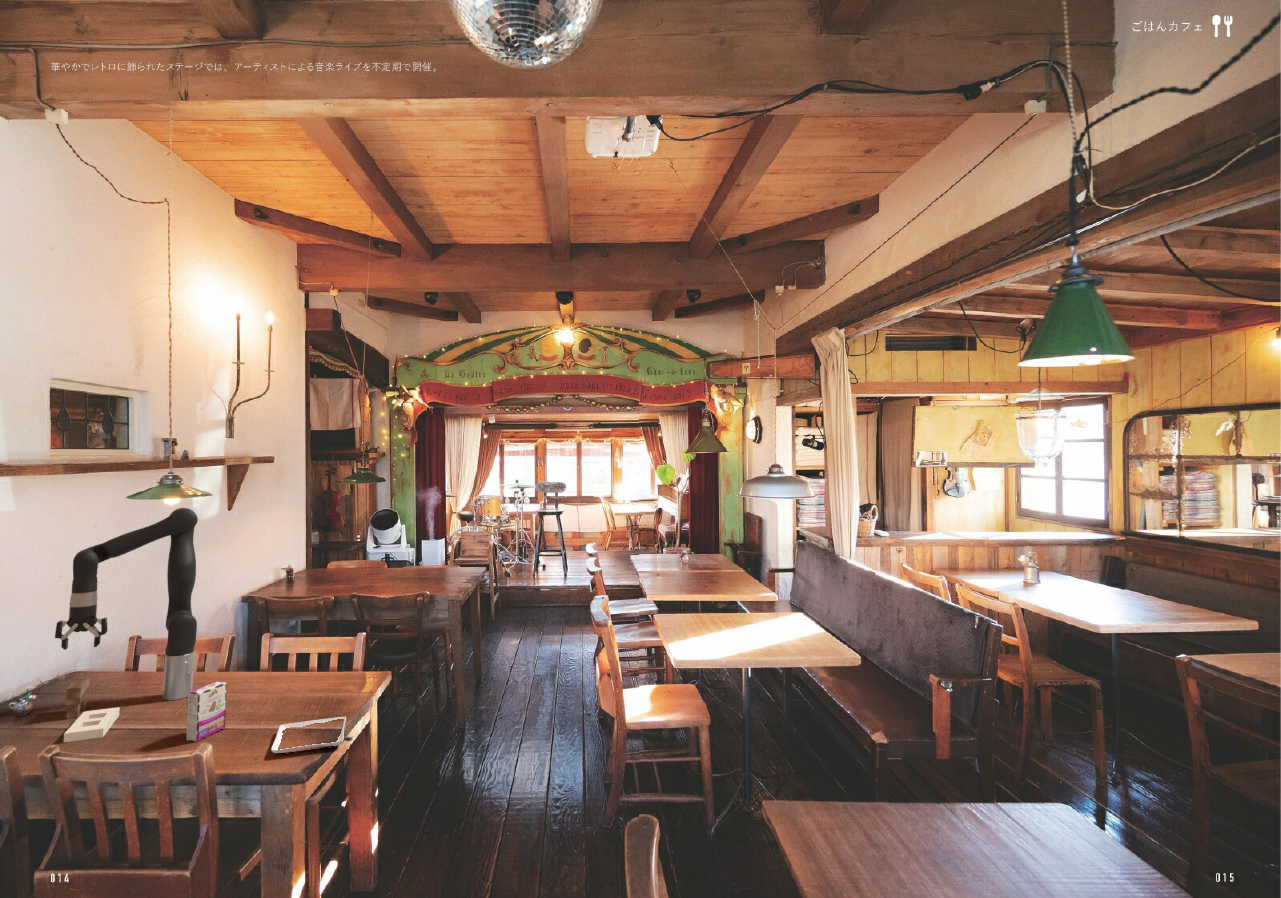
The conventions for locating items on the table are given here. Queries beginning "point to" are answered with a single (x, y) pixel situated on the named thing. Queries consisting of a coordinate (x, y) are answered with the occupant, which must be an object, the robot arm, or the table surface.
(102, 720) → the slotted block
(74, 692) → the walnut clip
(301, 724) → the rectangular frame
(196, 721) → the candy bar box
